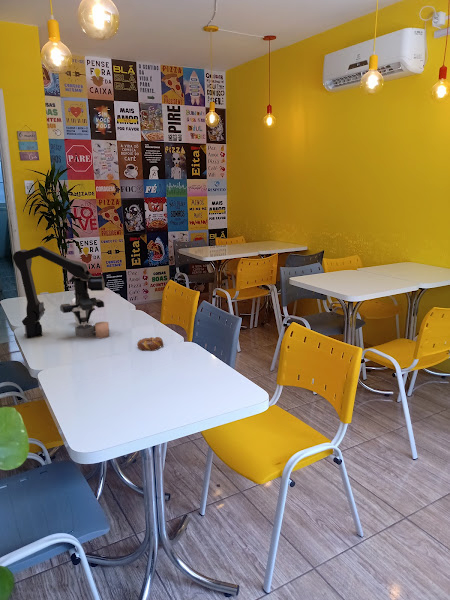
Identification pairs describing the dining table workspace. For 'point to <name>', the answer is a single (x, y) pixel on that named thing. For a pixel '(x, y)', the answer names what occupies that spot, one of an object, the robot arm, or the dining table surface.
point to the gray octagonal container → (84, 330)
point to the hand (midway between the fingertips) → (83, 323)
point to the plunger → (83, 321)
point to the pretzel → (150, 343)
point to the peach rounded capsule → (102, 329)
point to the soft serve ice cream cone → (82, 313)
